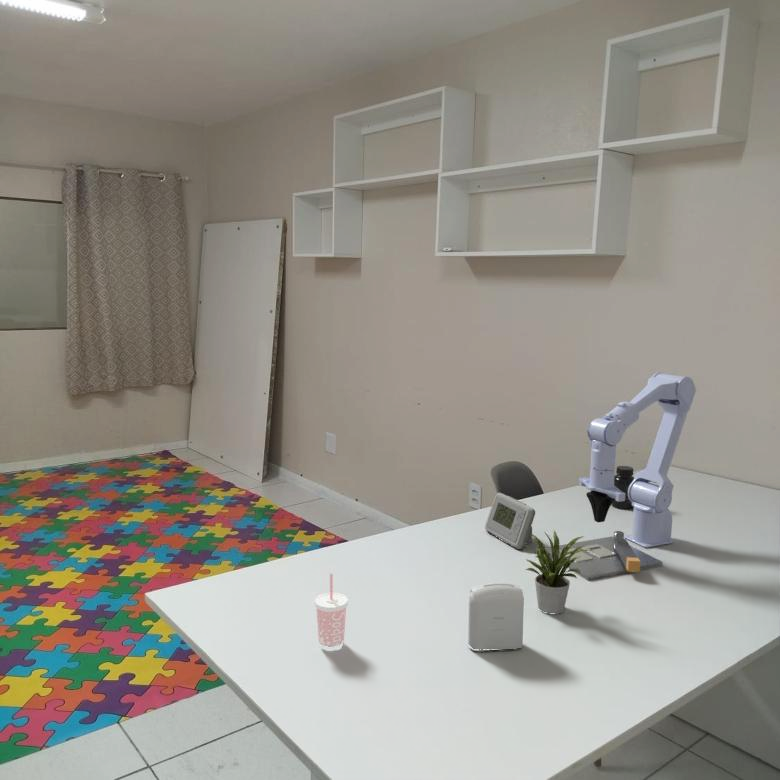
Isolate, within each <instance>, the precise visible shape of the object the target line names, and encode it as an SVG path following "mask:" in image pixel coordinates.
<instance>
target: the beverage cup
mask: <svg viewBox="0 0 780 780" xmlns="http://www.w3.org/2000/svg"><path fill="white" fill-rule="evenodd" d="M333 576H334V575H333V573H330V574H329V592H327V593H326V592H325V593H321V594H320V595H317V596H316V597H315V598H314V606H315V608H316V618H317V619H316V622H317V635H318V644H319V643H320V644H321V645H323V646H328V647H334V646H338V645H340V644H342V643H343V642H344V643H345V628H346V615H347V607H348V605H349V604H348V603H349V602H348V600H349V599H348V597H347V596H346V595H345V594H342V593H339V592H333V589H334V588H333V587H334V586H333V585H334V584H333Z"/></svg>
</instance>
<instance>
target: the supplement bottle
mask: <svg viewBox="0 0 780 780" xmlns="http://www.w3.org/2000/svg"><path fill="white" fill-rule="evenodd" d="M615 471H616V472H615V474H614V486H615V487H617V488H618V489H619V490H620V491H622V492H624V493H625V501H620V502H618V501H616V499H615V500H614V501H613V503H612V504H611V506H612V507H613V508H615V509H619V510H632V509H634V506H632V502H631V501H630V500H629V498H628V488H629V486H630V484H631V483H632V481H633V480H634V478H635V476H634V474H635V473H634V468H633V467H631V466H629V465H628V466H627V465H618V466H617V467H616V470H615Z"/></svg>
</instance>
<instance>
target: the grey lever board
mask: <svg viewBox="0 0 780 780" xmlns="http://www.w3.org/2000/svg"><path fill="white" fill-rule="evenodd" d="M616 539H625V532H624V531H621V530H615V531H613V536H608V537H607V536H606V537H602V538H595V539H590V540H583V541H576V542H575V543H574V544H573V545H572V546H571V547H570V549H569V550H568V552H569V551H571V552H569V553H568V554H567V555H566V556H565V557H567V556H570V554H571V553H572V552H573V551H574V550H575V549H576V548H578V547H581V546H585V547H582V548H580V549H579V550H582V549H587V550H591V551H581V552H578V553H576V554H574V555H573V556H572V557H571V559H573V558H575V557H579V558H577V559H575V560H574V561H573V562H572V563H571V564H570V566H569V567H568V568H569V569H568V568H567V569H568V570H570V569H573V568H577V569H579V570H580V574H579V573H578V572H574V574H577V575H578V576H580V577H581V578H583V579H584V580H586V581H593V580H597V579H602V578H607V577H608V578H609V577H613V576H619V575H623V574H627V573H630V572H628V571H627V569H626V567H625V565H624V563H623V561H622V560H621V558H620V556H619V554H618V553H617V551H616V549H615V540H616ZM567 544H568V543H565V544H559V558H560V555H561V552H562V550H563V548H564V547H566V546H567ZM630 547H631V548H632V550H633V552H634V553H635V555H636V556H637V558H639V560H640V571H643V570H648V569H649V570H650V569H653V568H658V567H662V566H663V565H664V564H663V561H662V560H660V559H658V558H656V557H654V556H652V555H650V554H647V553H646V552H644V551H642V550H640V549H638V548H636V547H634V546H632V545H630ZM545 550H548V552H549V557H551V558H552V549H551V546H547V547H545ZM572 550H573V551H572ZM579 550H578V551H579ZM580 556H581V557H580ZM565 557H564V558H565ZM567 559H568V558H567ZM571 559H570V560H571ZM552 560H553V558H552Z"/></svg>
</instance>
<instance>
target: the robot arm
mask: <svg viewBox="0 0 780 780" xmlns="http://www.w3.org/2000/svg"><path fill="white" fill-rule="evenodd" d="M696 392H697V389H696V386H695V383H694V379H692V378H691V377H690V376H687V375H686V376H681V375H675V374H668V373H662V372H655V373H654V374H653V375H652V376H651V377H649V378H648V380H647V385H646V386H645V387H644V388H643V389H642V390H641V391H640V392H639V393H638V394H636V395H635V396H634V397H633V398H632V399H631V400H630V401H620V402H618V403H617V406H616V407H614V408H613V409H612V410H610V411H609V412H607V413H606V414H605V415H604V416H603V417H602V418H601V417H600V418H599V417H596V418H595V419H593V420H592V421H591V422H590V423H589V425H588V428H587V429H586V436H587V438H588V439H589V447H590V449H591V451H590V467H589V469H590V470H589V477H586V476H583V477H578V478H579V479H578V486H580V487H585V488H586V490H589V491H588V492H586V497H587V499H588V501H589V504H590V506H591V509H592V510H591V511H592V515H593V520H594V522H597V523H604V522H605V521H606V519H607V518H606V517H607V515H608V512H609V510H610V508H611V506H612V505H611V504H612V503H613V501H614V500H615V499H616V501H618V502H620V501H625V493H624V492H622V491H620V490H619V489H618V488H617V487H615V486H614V476H615V475H616V472H615V471H616V470H615V469H616V457H617V456H616V454H617V444H619V443H620V442H621V440H622V438H623V436H624V434H625V432H626V430H627V429H629V428H630V427H631V426H633V425H634V424H635V423H636V422H637V421H638V420H639V419H640V414H641V412H643V411H644V410H646V409H647V408H649V407H650V406H651V405H653V404H655V403H656V402H657V403H658V405H659V406H660V407H662V410H663V417H662V419H661V422H660V425H659V428H658V431H657V434H656V438H655V440H654V443H653V446H652V448H651V453H650V455H649V458H648V461H647V464H646V467H645V469H643V470H641V471H638V472H637V473H636V474H635V476H634V480H633V481H632V483H631V484H630V486H629V488H628V498H629V500H630V501H631V502H632V506H634V507H633V516H632V532H631V534H627V535H624V539H626V540H627V541H628V540H629V541H630V542H633V543H635V544H637V545H639V546H641V547H643V548H645V549H646V548H647V549H648V548H652V547H658V546H662V545H668V544H672V543H674V541H673V540H672V528H673V516H672V515H673V514H672V513H671V511H670V509H669V507H670V506H671V503H672V500H673V494H672V493H673V489H674V484H673V483H672V481H671V480H670V478H669V477H668V474H669V470H670V467H671V465H672V461H673V458H674V455H675V452H676V449H677V446H678V443H679V440H680V438H681V433H682V431H683V427H684V425H685V421H686V419H687V415H688V413H689V411H690V409H691V407H692V403H693V400H694V397H695V396H696V395H695V394H696Z"/></svg>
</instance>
